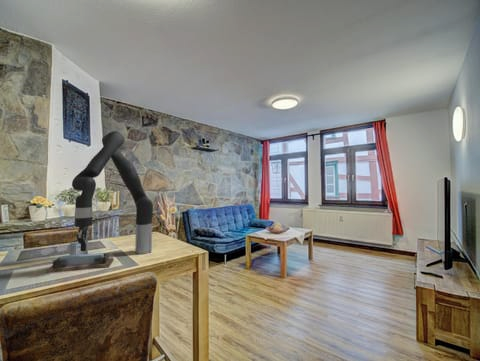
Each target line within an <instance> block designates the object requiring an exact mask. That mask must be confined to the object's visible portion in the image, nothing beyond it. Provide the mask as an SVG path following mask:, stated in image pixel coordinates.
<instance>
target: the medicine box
mask: <svg viewBox="0 0 480 361" xmlns="http://www.w3.org/2000/svg"><path fill="white" fill-rule="evenodd" d="M69 247H70V248H69V255H82V254H89V253H88V252H89V251H88V250H89V240H88V241H87V250H86V251H82V252H81V244H79V242H78V240H77V241H74V242H71V243H69Z"/></svg>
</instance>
